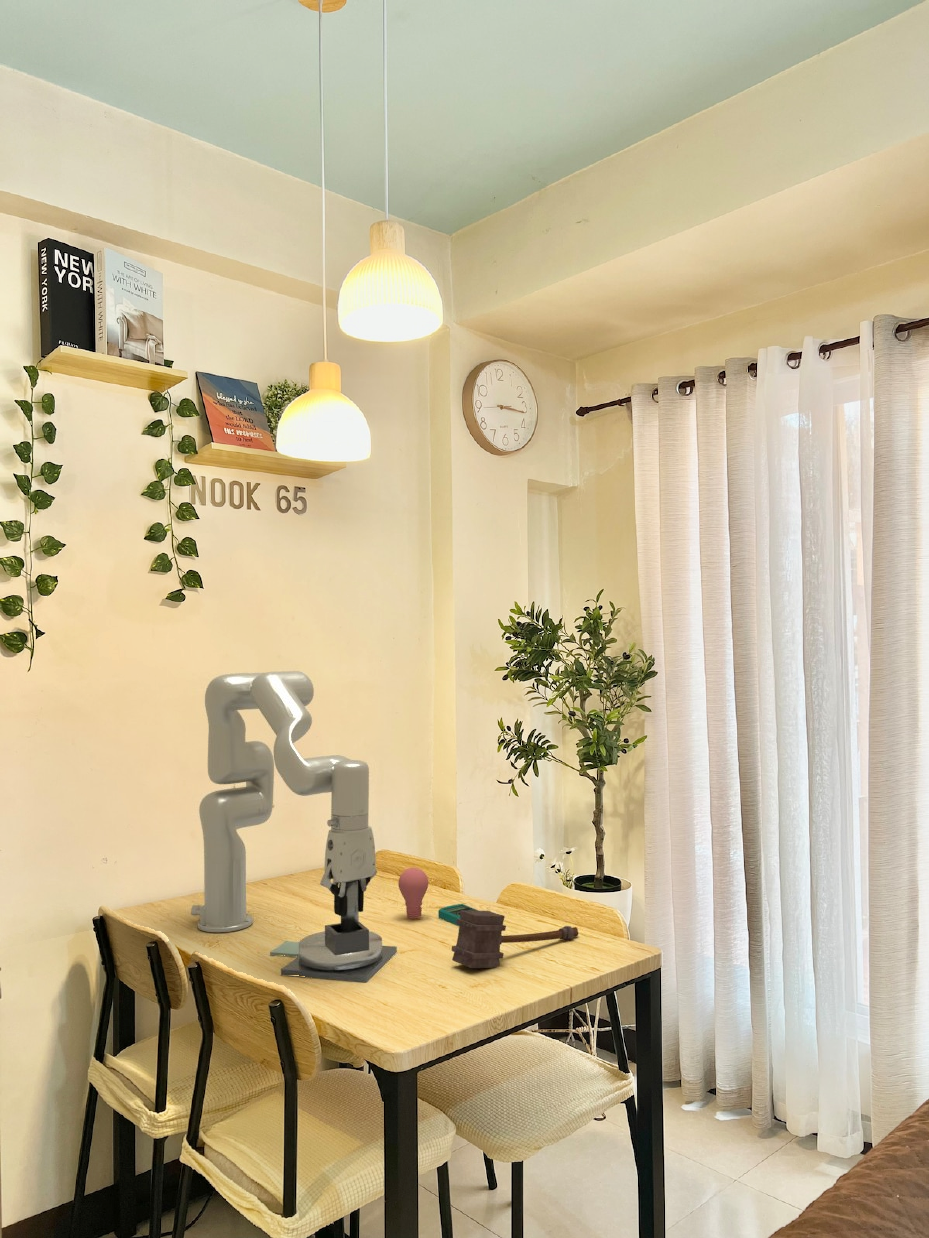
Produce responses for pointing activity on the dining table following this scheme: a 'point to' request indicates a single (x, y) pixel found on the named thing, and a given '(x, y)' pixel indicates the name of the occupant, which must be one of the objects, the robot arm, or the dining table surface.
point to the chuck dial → (340, 948)
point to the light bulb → (413, 890)
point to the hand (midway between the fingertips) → (348, 911)
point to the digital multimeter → (453, 912)
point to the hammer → (492, 938)
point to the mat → (287, 949)
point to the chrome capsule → (351, 908)
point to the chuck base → (346, 975)
